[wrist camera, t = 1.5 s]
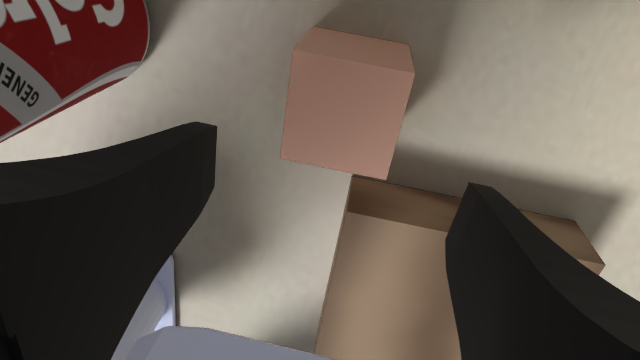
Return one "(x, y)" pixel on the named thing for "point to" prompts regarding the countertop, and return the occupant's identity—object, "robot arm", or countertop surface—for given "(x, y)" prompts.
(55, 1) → the soda can
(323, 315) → the walnut box
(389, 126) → the terracotta block
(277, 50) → the countertop surface
